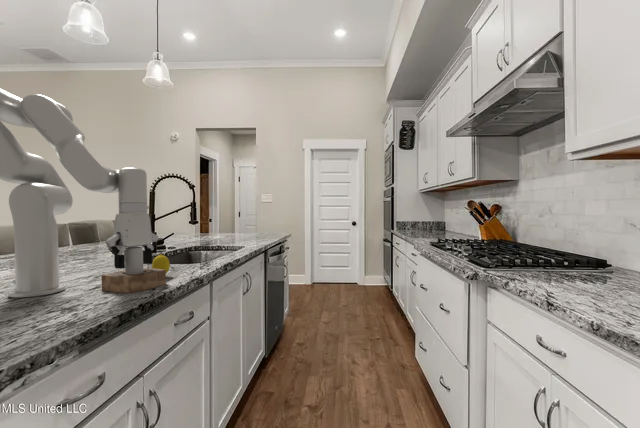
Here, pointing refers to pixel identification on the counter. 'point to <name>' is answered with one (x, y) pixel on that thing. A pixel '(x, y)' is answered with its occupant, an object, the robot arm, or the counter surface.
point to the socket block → (133, 280)
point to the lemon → (161, 263)
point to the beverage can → (133, 260)
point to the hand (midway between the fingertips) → (134, 265)
